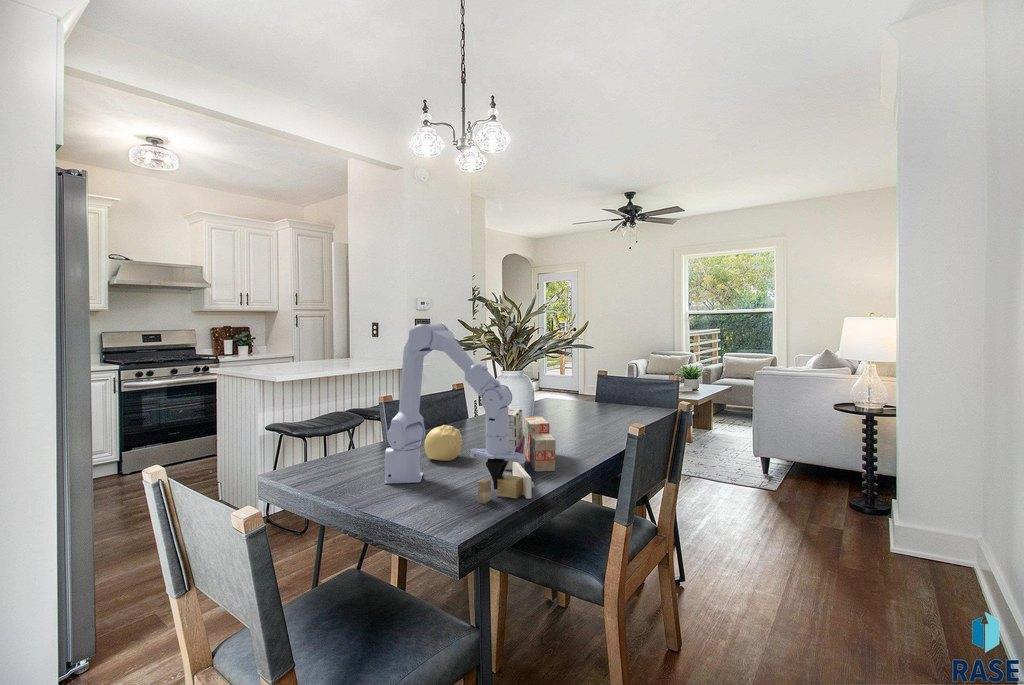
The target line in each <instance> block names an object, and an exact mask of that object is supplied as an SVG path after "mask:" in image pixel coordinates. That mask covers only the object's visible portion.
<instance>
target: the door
mask: <svg viewBox="0 0 1024 685" xmlns="http://www.w3.org/2000/svg"><path fill="white" fill-rule="evenodd" d="M513 476H519V477H523V495H522V496H524V498H526V500H527V499H532V488H535V487H534V486H535V483H534V481H532V477H531V476H530V474H528V473H527V471H526V470H525V468H524V469H523V468H522V467H521V465H520V464H519V463H518V462H513Z"/></svg>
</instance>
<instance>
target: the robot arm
mask: <svg viewBox="0 0 1024 685" xmlns="http://www.w3.org/2000/svg"><path fill="white" fill-rule="evenodd" d="M432 351H438V352H443V353H445V354H446V355H447V356H448V357H449V358H450V359H451V361H453V362H454V363H455V364H456V365H457V366H458V367H459V368H460V369H461V370H462V371H463V372H464V380H465V382H467V384H468V385H470V387H471V388H472V389H473V390H474V392H475V393H476V394H477V395H478V397H480V403H481V406H482V408H483V409H484V416H485V448H476V447H475V448H472V449H470V450H469V457H470V458H471V459H473V458H481V459H487V461H486V462H485V466H486V468H487V470H488V472H489V474H490V476H491V481H492V483H493V490H496V491H498V482H497V479H498V478H500V477H502V476H503V475H504V472H505V471H506V470H505V468H506V466H507V464H508V462H509V461H510V462H518V463H519V464H523V463H524V464H525V463H526V456H525V453H523V454H521V453H516V452H513V451H509V416H508V409H509V406H510V405H511V404H512V402H513V393H512V391H511V390H510V388H509V387H508V385H505V384H501V382H500V381H499V380H497V379H496V378H495V377H494V376H493V375H492V374H491V373H490V372H489V371H488V370H489V368H488V366H486V365H483V364H482V363H475V362H474V360H473V359H472V358H471V357H470V355H469V354H468V353H467V352H466V350H465V349H464V348H463V346H461V344H460V343H459V342H458V341H457V339H456V338H455V335H454V332H452V331H451V330H450V329H449V328H448V327H447V326H446V325H445V324H443V323H436V324H435V323H434V324H432V323H430V324H427V323H426V324H425V323H418V324H416V325H415V326H413V327H412V328H410V329H409V331H408V339H407V341H406V343H405V345H404V347H403V354H402V355H403V356H402V366H401V367H402V368H401V378H400V379H401V380H400V392H399V393H400V394H399V406H398V412H397V413H396V415H395V416H394V417H393V418H391V422H390V427H389V429H388V430H387V432H386V438H387V442H388V444H389V446H390V447H386V449H385V452H384V484H385V485H386V484H388V485H389V484H413V483H414V484H415V483H421V482H422V478H423V475H424V472H421V445H422V441H423V440H425V438H426V427H425V424H424V422H425V419H424V417H423V416H422V414H421V413H420V406H421V395H422V393H421V392H422V383H423V382H422V381H423V372H424V371H423V370H424V361H425V360H424V358H425V357H426V356H427V355H428V354H430V353H431V352H432Z"/></svg>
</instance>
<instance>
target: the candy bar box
mask: <svg viewBox="0 0 1024 685" xmlns="http://www.w3.org/2000/svg"><path fill="white" fill-rule="evenodd" d="M508 416H509V451H513V452H516V453H521V454H524V442H523V441H524V424H523V408H508ZM504 471H512V462H510V461H509V462H508V464H507V466H506V468H505V470H504Z"/></svg>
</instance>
